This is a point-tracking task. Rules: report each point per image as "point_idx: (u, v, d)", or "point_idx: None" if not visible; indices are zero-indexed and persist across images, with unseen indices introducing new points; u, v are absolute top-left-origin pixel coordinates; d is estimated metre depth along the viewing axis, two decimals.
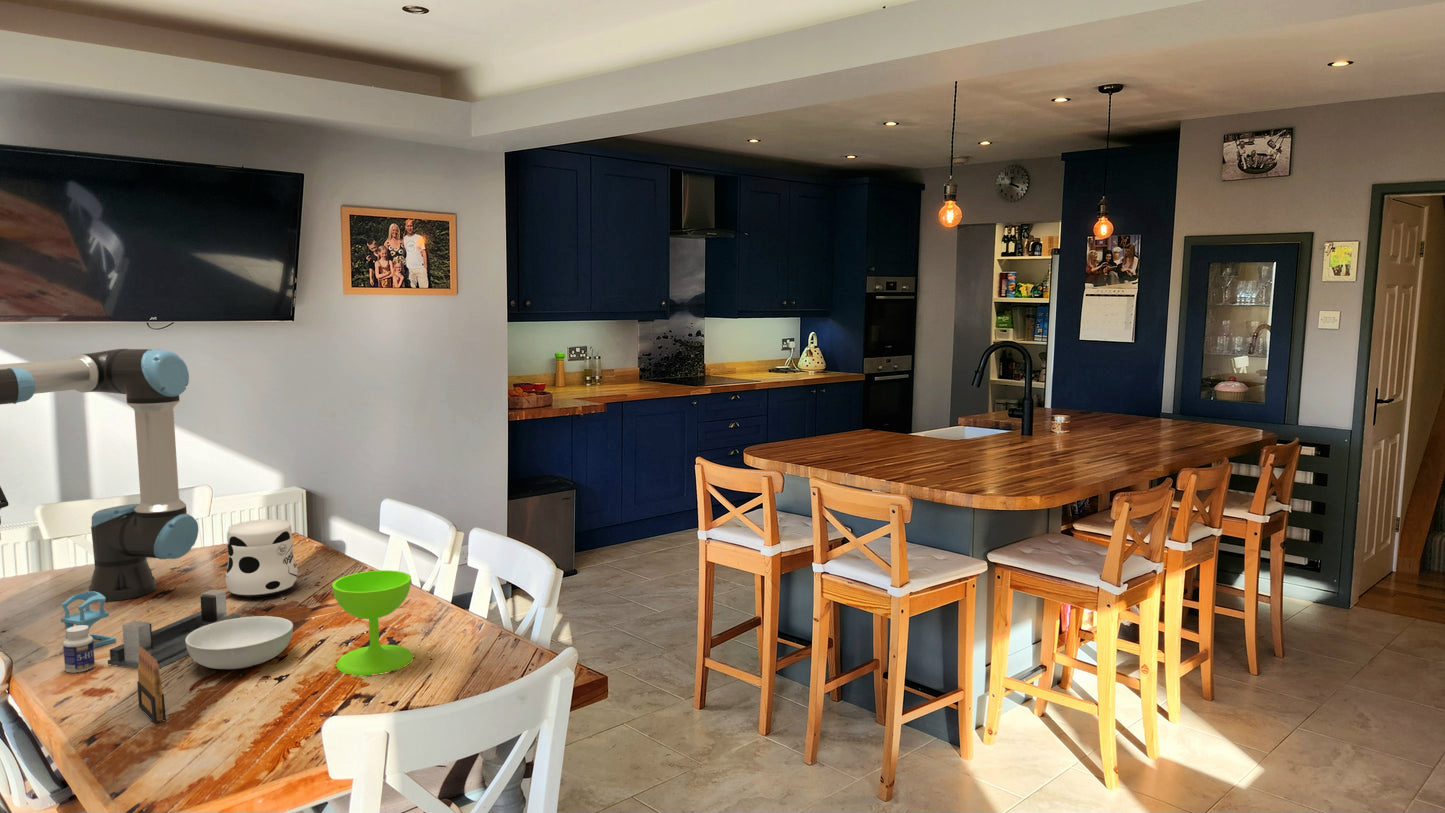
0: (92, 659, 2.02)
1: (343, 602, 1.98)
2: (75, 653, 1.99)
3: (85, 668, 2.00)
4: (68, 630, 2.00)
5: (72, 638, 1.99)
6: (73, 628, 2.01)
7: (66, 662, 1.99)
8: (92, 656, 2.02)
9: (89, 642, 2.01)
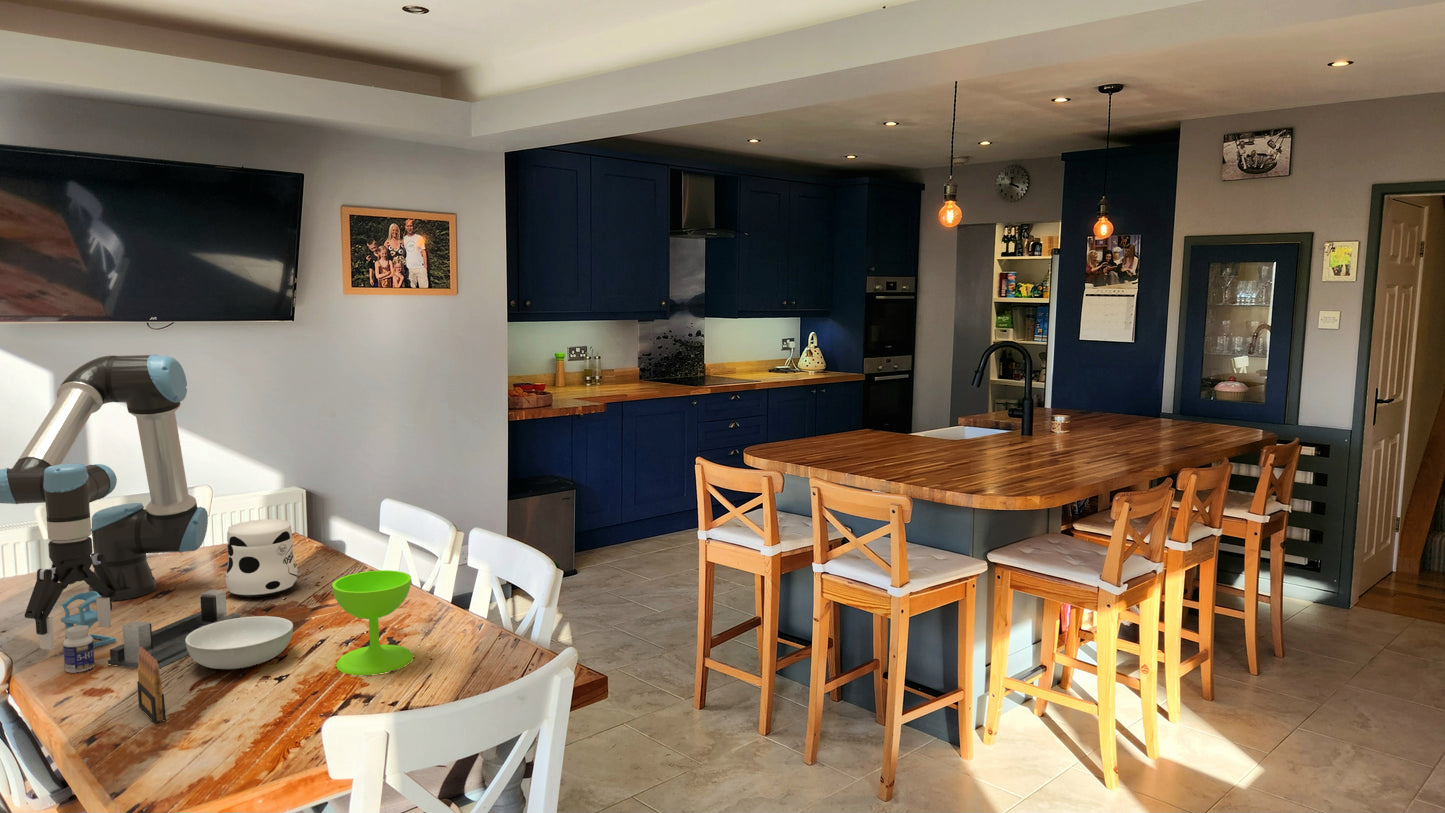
0: (92, 659, 2.02)
1: (343, 602, 1.98)
2: (75, 653, 1.99)
3: (85, 668, 2.00)
4: (68, 630, 2.00)
5: (72, 638, 1.99)
6: (73, 628, 2.01)
7: (66, 662, 1.99)
8: (92, 656, 2.02)
9: (89, 642, 2.01)
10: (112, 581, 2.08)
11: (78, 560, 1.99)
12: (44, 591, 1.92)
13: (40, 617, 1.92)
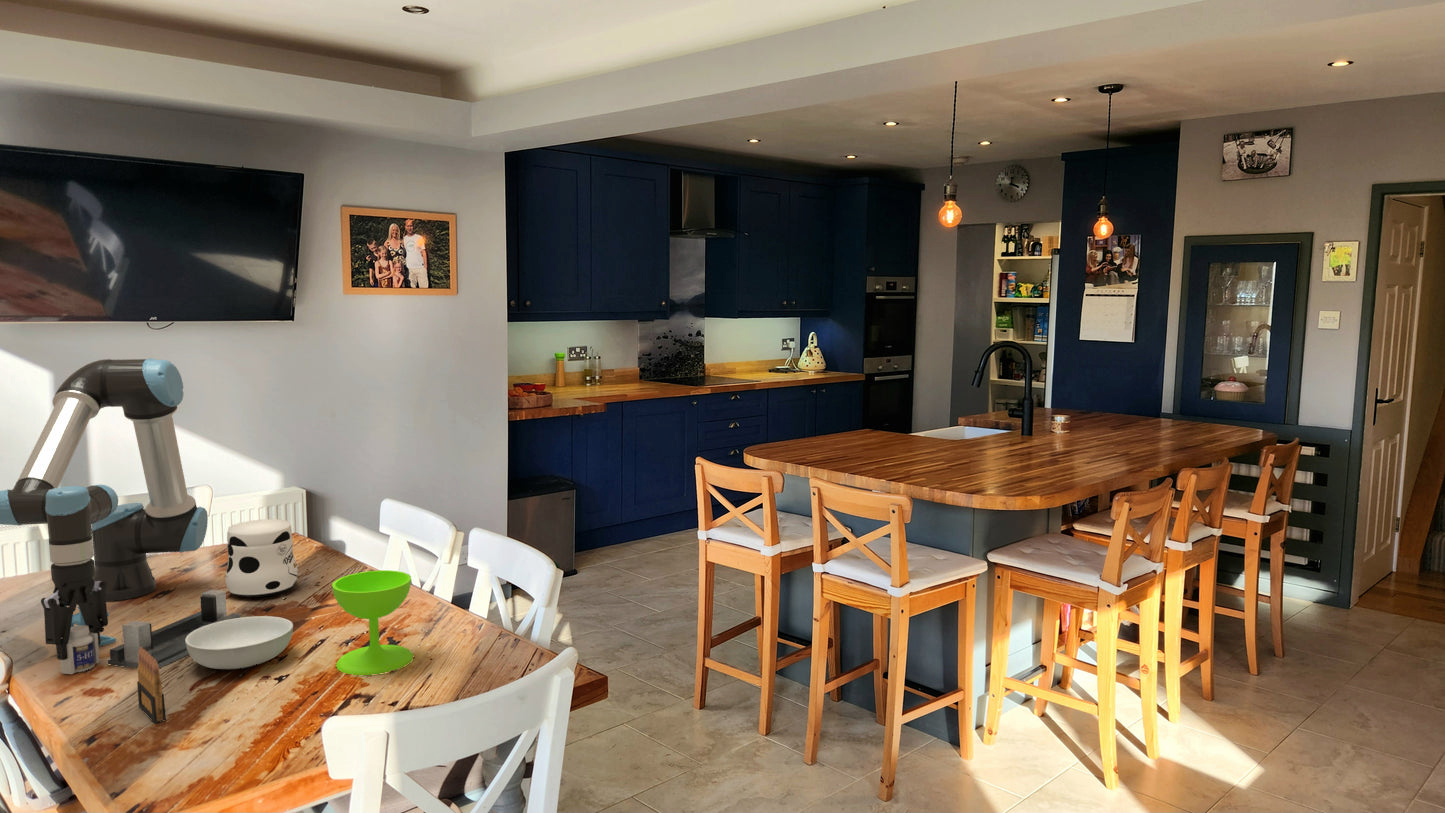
0: (92, 659, 2.02)
1: (343, 602, 1.98)
2: (74, 653, 1.99)
3: (85, 668, 2.00)
4: None
5: (72, 638, 1.99)
6: (73, 628, 2.01)
7: None
8: (92, 656, 2.02)
9: (89, 642, 2.01)
10: (104, 613, 2.06)
11: (80, 582, 2.00)
12: (55, 619, 1.95)
13: (61, 643, 1.96)
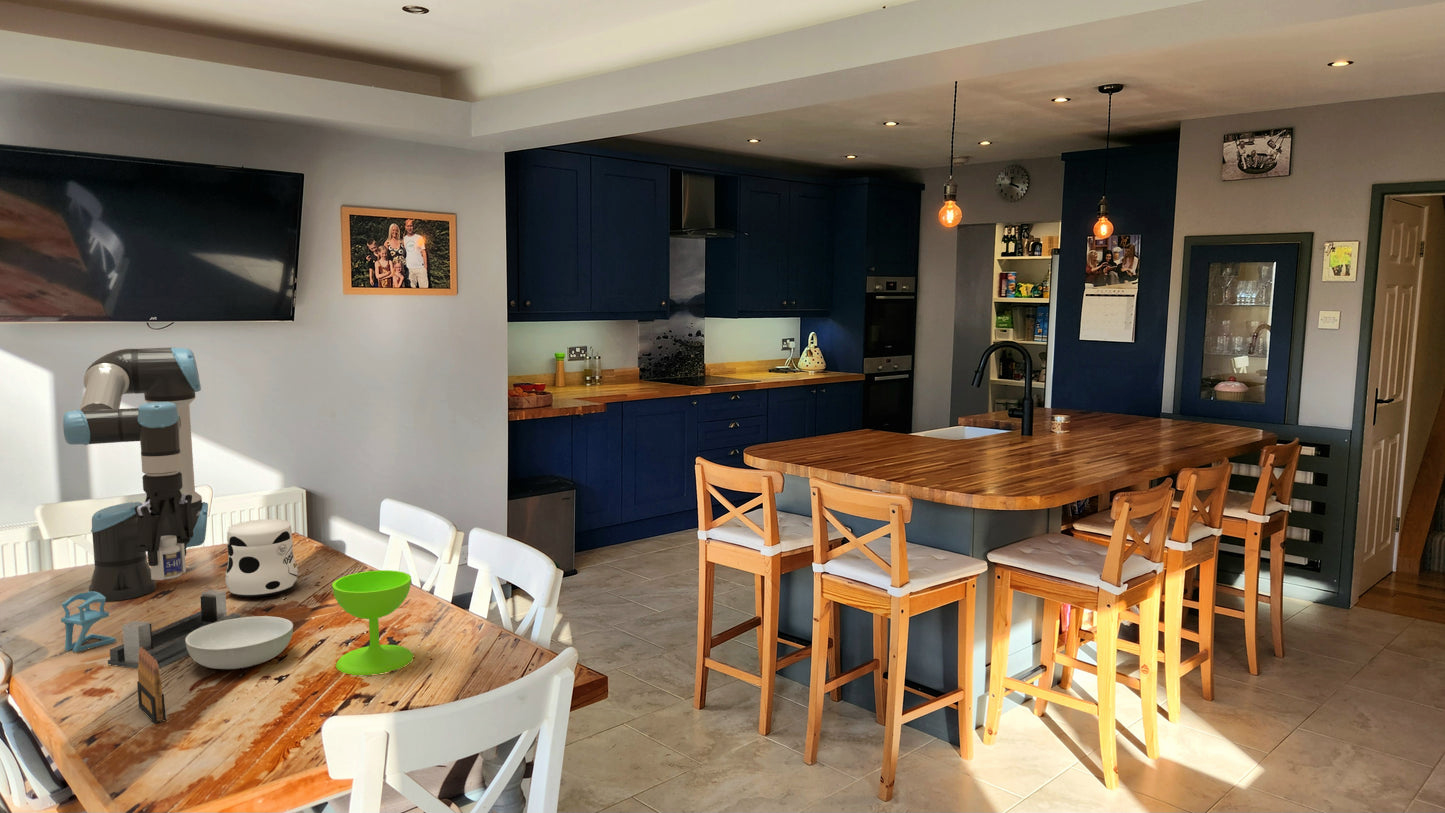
0: (180, 567, 2.12)
1: (343, 602, 1.98)
2: (164, 560, 2.09)
3: (174, 575, 2.11)
4: None
5: (162, 547, 2.10)
6: (162, 537, 2.11)
7: None
8: (180, 564, 2.12)
9: (177, 550, 2.11)
10: (189, 525, 2.16)
11: (169, 493, 2.10)
12: (147, 526, 2.05)
13: (152, 549, 2.07)
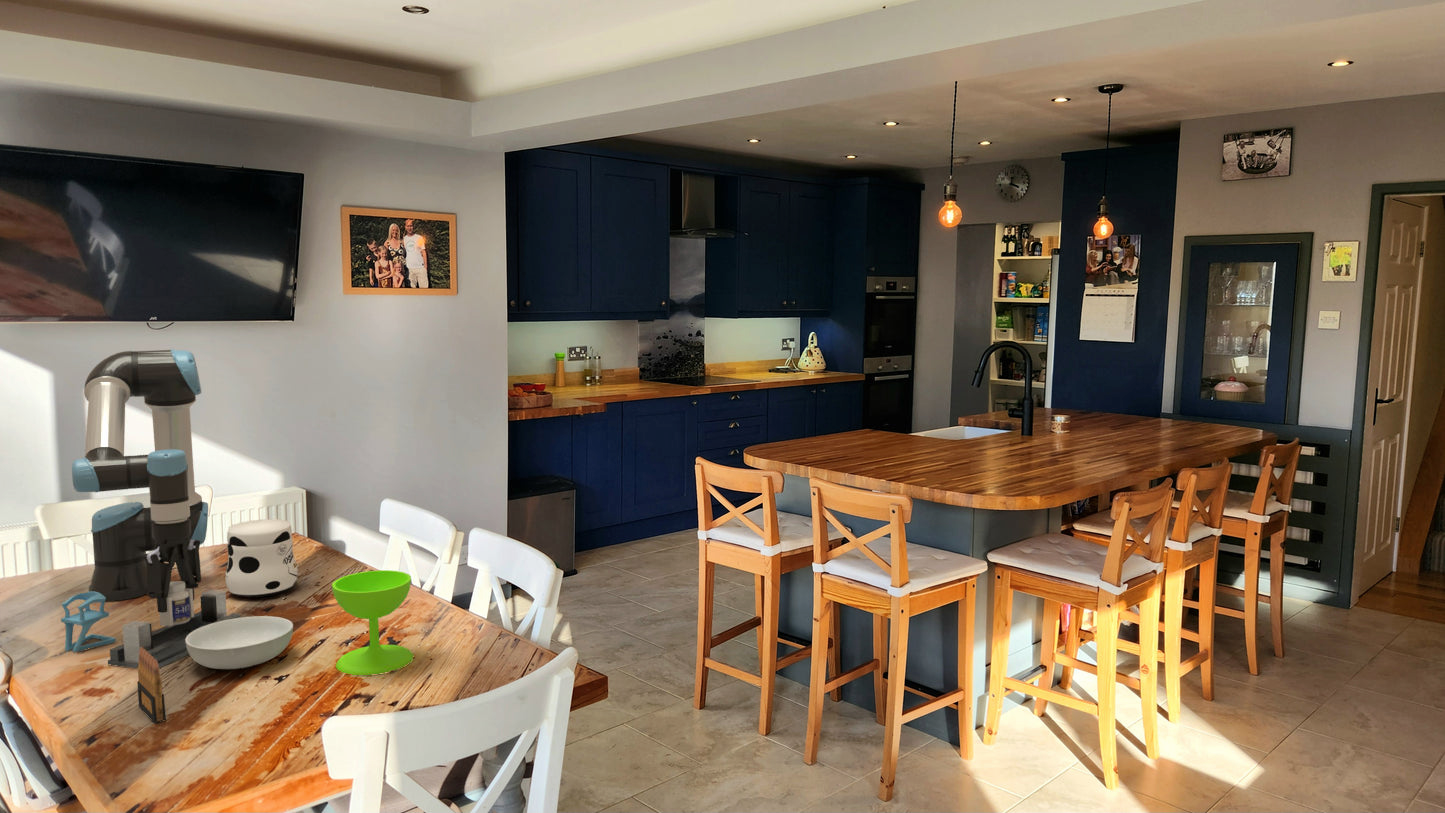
0: (188, 613, 2.14)
1: (343, 602, 1.98)
2: (173, 606, 2.11)
3: (183, 621, 2.13)
4: None
5: (171, 593, 2.12)
6: (171, 583, 2.13)
7: None
8: (188, 610, 2.14)
9: (186, 596, 2.13)
10: (197, 570, 2.18)
11: (178, 540, 2.12)
12: (157, 573, 2.07)
13: (161, 596, 2.09)
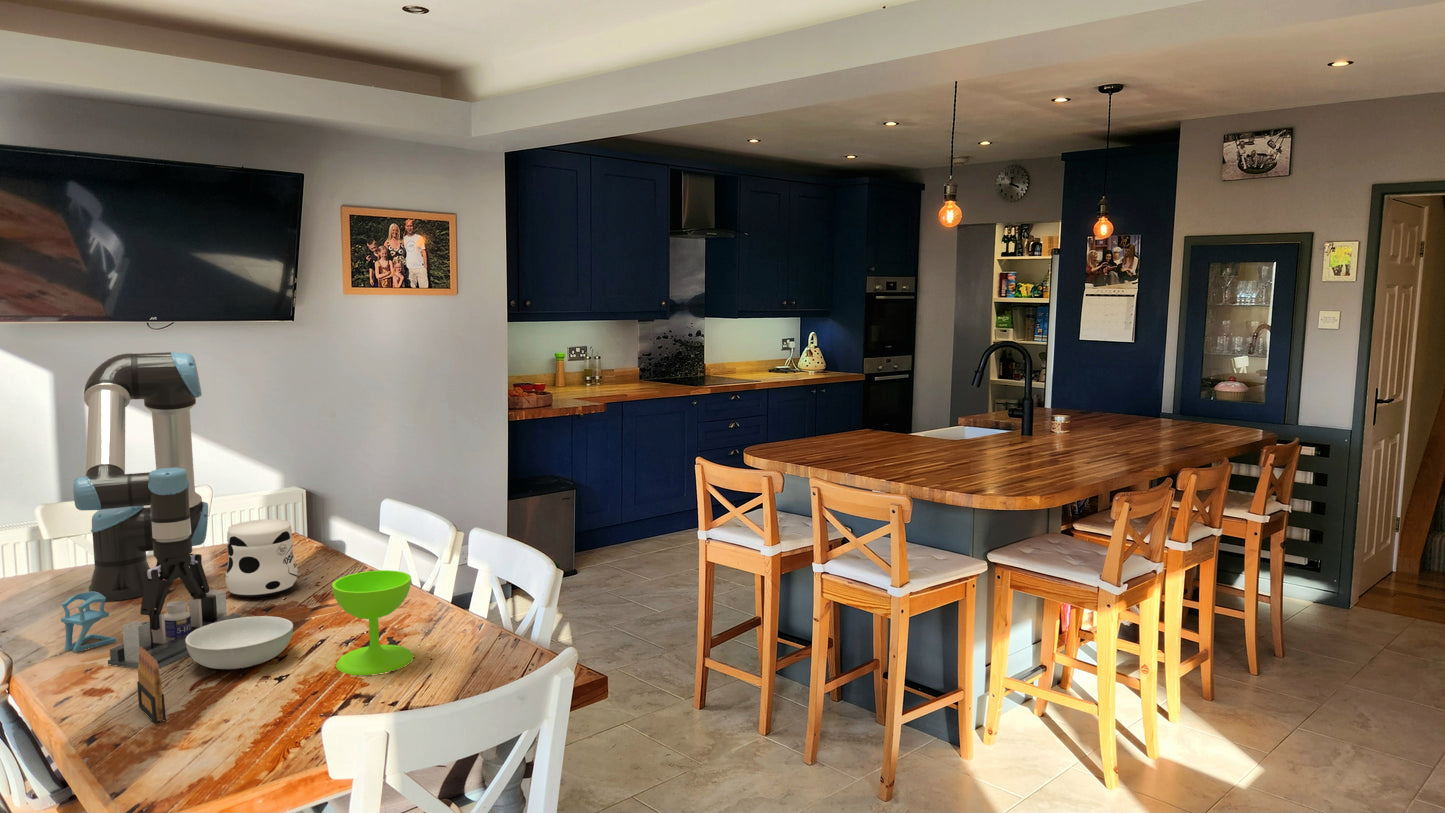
0: None
1: (343, 602, 1.98)
2: (175, 626, 2.12)
3: None
4: (168, 605, 2.13)
5: (172, 613, 2.13)
6: (172, 603, 2.14)
7: (166, 635, 2.12)
8: (190, 629, 2.15)
9: (187, 616, 2.14)
10: (204, 582, 2.20)
11: (179, 558, 2.13)
12: (154, 589, 2.06)
13: (154, 614, 2.07)
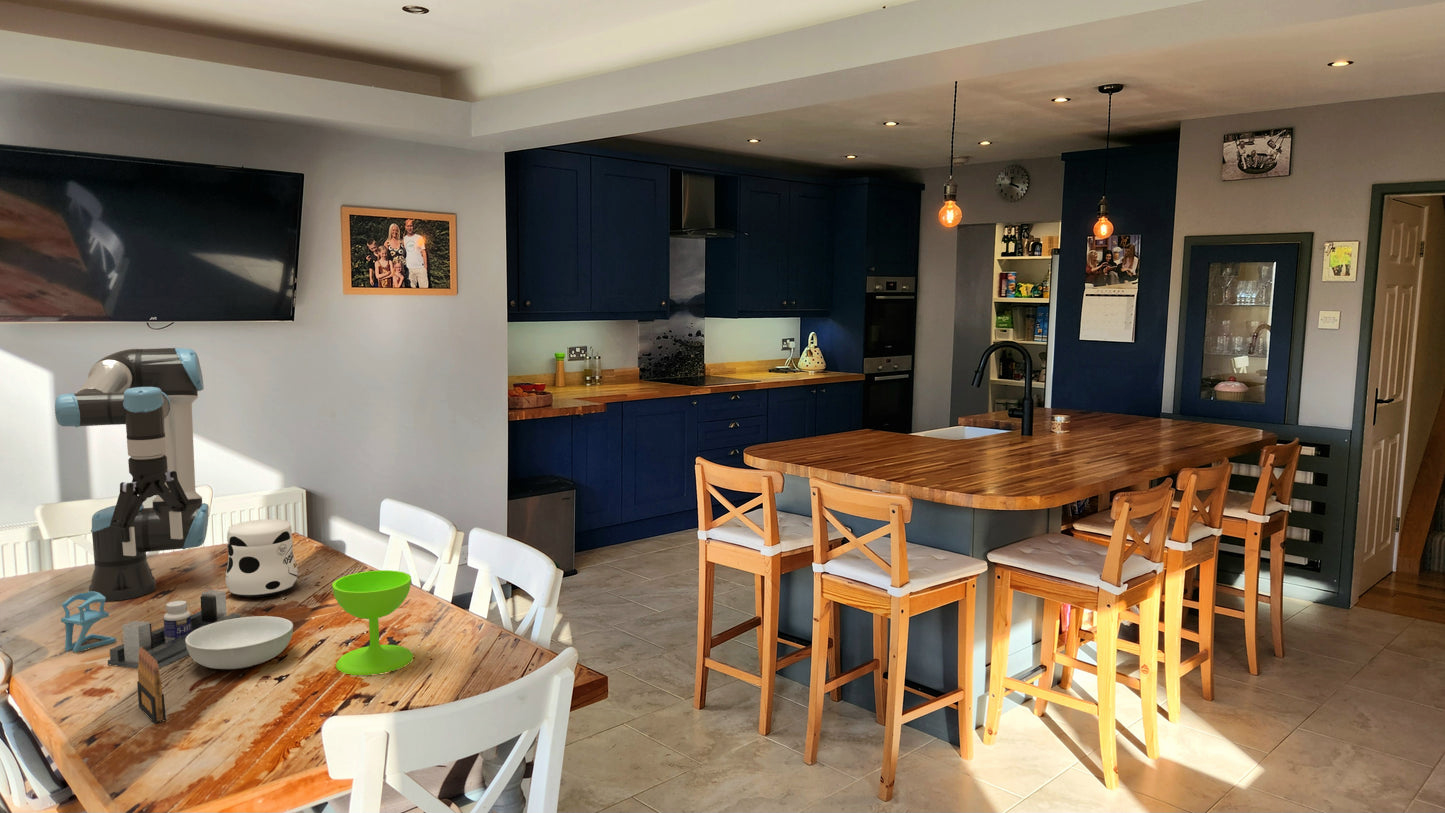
0: None
1: (343, 602, 1.98)
2: (175, 626, 2.12)
3: None
4: (168, 605, 2.13)
5: (172, 613, 2.13)
6: (172, 603, 2.14)
7: (166, 635, 2.12)
8: (190, 629, 2.15)
9: (187, 616, 2.14)
10: (183, 497, 2.25)
11: (155, 476, 2.16)
12: (127, 502, 2.09)
13: (124, 526, 2.09)
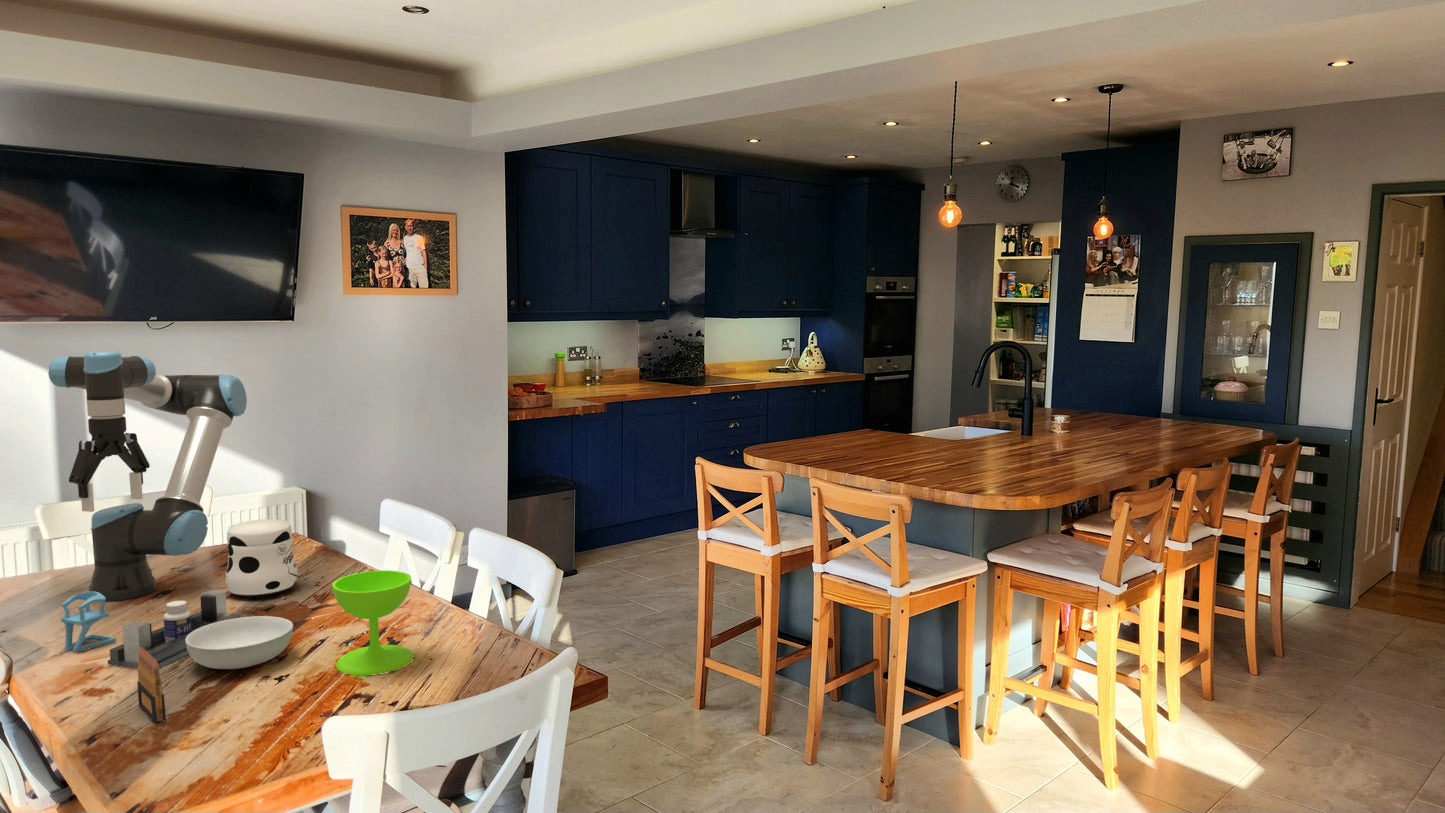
0: None
1: (343, 602, 1.98)
2: (175, 626, 2.12)
3: None
4: (168, 605, 2.13)
5: (172, 613, 2.13)
6: (172, 603, 2.14)
7: (166, 635, 2.12)
8: (190, 629, 2.15)
9: (187, 616, 2.14)
10: (143, 458, 2.34)
11: (114, 436, 2.26)
12: (85, 459, 2.18)
13: (82, 482, 2.18)
